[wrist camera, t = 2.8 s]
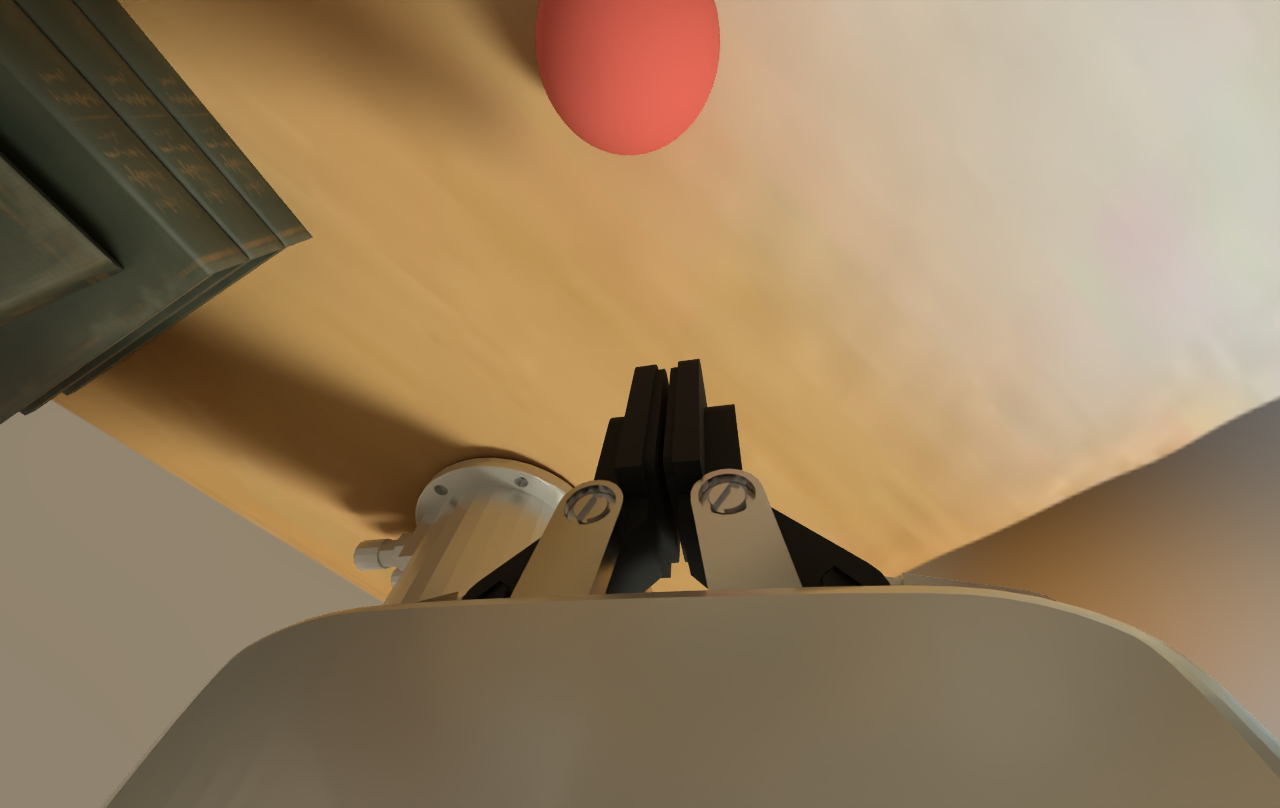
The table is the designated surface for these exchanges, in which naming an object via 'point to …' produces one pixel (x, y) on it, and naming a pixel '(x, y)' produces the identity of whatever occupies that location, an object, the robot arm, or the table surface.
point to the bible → (110, 198)
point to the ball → (627, 68)
